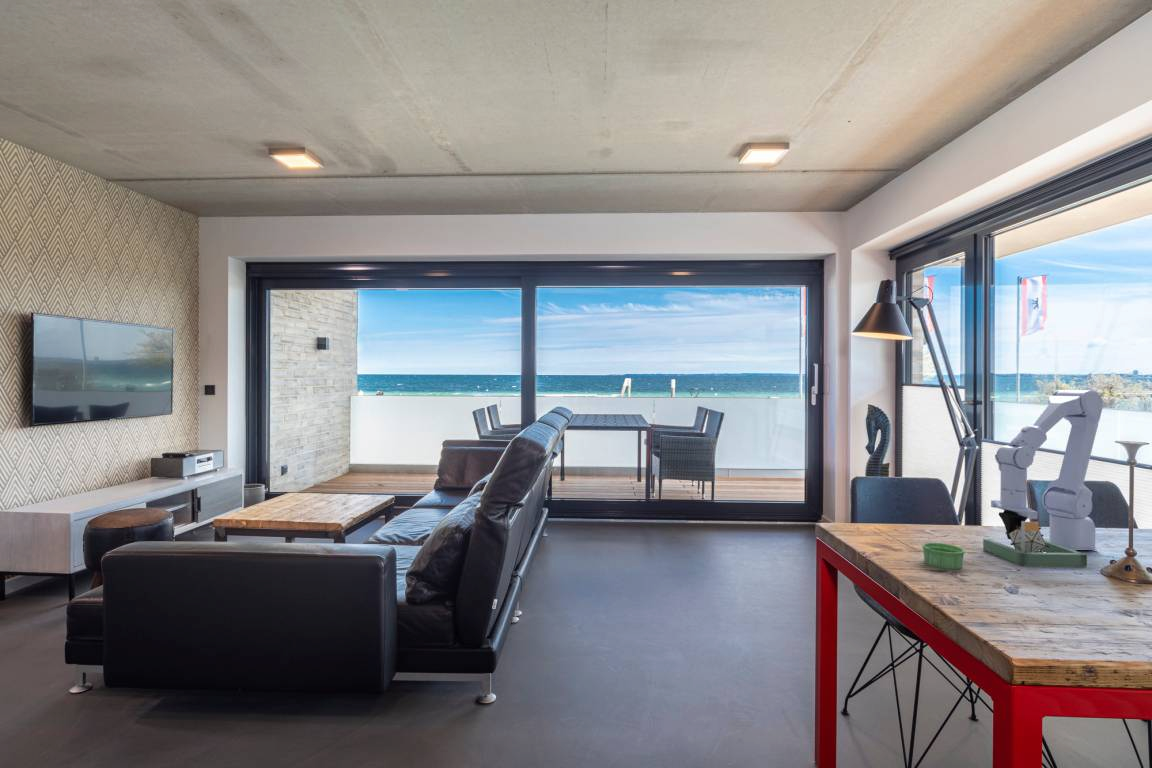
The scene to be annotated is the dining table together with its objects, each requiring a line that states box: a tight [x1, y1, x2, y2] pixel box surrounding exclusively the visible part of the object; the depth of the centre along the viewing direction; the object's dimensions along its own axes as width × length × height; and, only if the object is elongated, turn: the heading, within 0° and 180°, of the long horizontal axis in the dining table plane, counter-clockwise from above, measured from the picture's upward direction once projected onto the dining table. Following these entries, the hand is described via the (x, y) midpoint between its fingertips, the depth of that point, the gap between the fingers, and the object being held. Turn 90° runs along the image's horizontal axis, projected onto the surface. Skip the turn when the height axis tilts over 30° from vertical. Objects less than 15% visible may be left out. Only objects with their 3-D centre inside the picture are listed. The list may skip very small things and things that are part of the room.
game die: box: [1005, 526, 1050, 553], centre depth 153 cm, size 9×8×10 cm
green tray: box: [982, 521, 1088, 567], centre depth 150 cm, size 16×14×11 cm
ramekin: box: [921, 542, 965, 570], centre depth 145 cm, size 9×9×4 cm
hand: (1012, 539), depth 157 cm, fingers closed
